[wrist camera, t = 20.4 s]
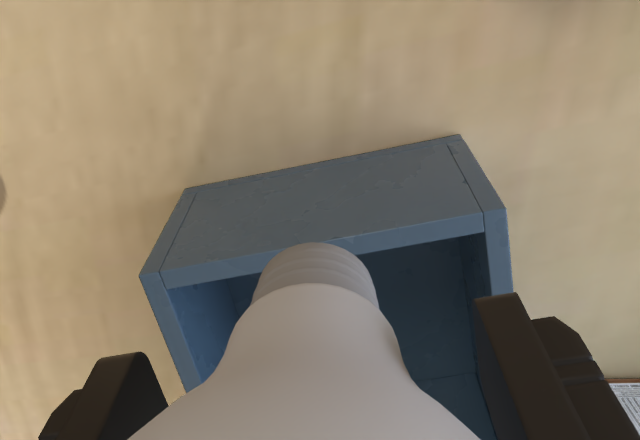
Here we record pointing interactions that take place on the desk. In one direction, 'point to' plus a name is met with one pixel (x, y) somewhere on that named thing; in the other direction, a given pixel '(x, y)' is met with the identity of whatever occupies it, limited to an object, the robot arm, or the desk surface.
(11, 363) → the desk surface
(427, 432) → the lightbulb
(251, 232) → the compartment
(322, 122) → the desk surface
